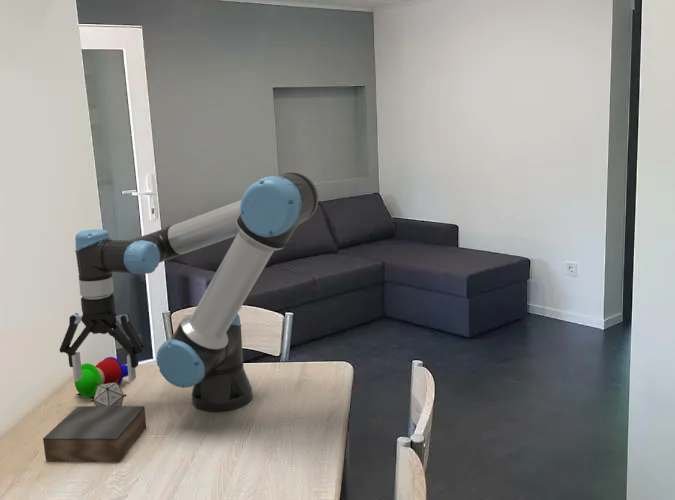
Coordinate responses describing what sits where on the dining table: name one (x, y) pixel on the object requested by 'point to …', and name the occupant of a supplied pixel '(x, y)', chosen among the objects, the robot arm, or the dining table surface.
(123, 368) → the toy figure
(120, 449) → the dark gray square base
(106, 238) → the robot arm
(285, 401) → the dining table surface
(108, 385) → the game die
